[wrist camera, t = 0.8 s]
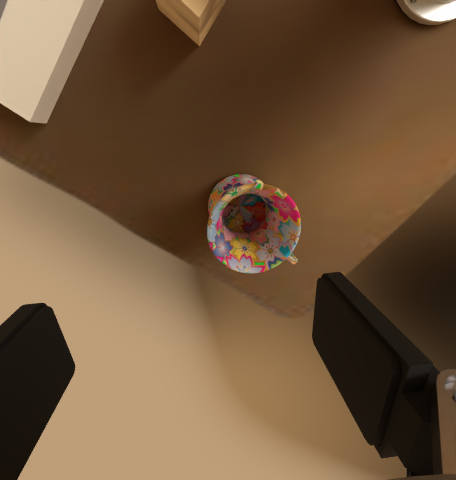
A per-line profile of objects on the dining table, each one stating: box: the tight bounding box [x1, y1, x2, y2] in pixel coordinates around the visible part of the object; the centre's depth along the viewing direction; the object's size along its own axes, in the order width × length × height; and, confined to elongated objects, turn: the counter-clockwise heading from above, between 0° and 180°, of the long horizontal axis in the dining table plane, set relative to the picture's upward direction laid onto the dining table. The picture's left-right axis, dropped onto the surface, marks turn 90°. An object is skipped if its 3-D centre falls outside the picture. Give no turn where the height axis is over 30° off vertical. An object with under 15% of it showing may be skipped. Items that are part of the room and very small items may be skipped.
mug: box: [207, 174, 301, 273], centre depth 30 cm, size 12×9×11 cm
